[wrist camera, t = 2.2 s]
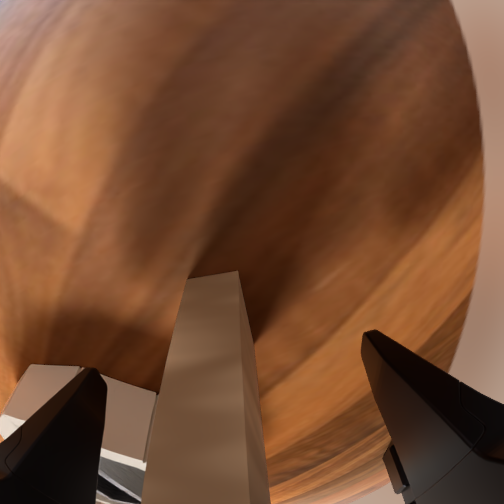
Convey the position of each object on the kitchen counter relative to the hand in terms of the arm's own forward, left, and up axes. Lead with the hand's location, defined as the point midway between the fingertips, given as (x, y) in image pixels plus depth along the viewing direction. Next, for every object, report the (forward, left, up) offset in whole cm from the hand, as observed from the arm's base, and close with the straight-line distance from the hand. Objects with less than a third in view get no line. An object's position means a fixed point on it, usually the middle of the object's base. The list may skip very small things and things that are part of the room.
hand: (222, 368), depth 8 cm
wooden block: (0, 0, -3) cm, 3 cm away
